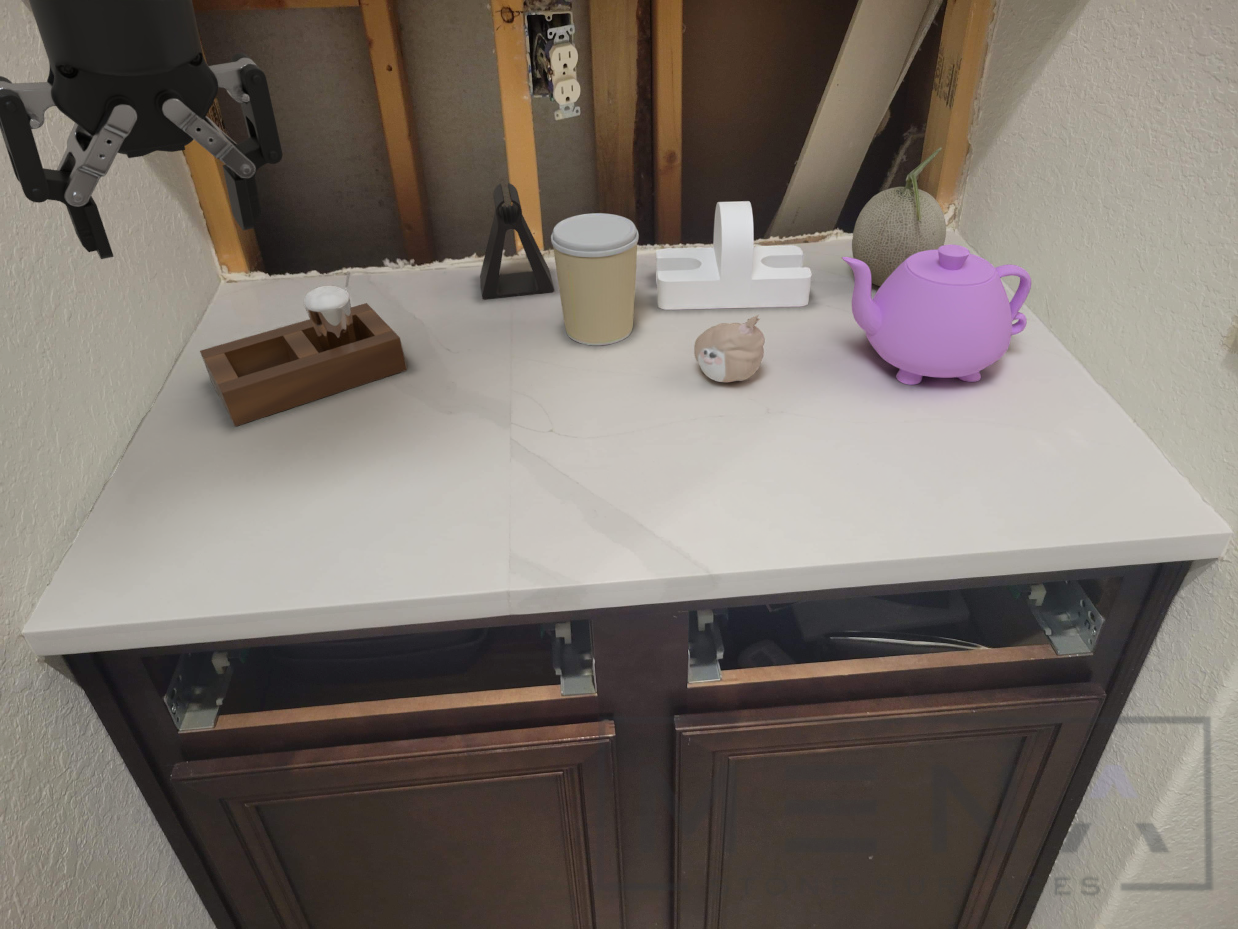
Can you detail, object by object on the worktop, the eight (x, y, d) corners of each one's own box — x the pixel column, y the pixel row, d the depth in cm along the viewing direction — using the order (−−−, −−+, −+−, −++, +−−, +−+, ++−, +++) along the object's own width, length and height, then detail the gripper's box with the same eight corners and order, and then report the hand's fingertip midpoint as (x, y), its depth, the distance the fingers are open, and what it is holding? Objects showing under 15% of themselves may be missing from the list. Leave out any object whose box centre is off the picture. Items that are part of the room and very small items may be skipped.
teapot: (842, 403, 81) (861, 286, 73) (810, 333, 92) (824, 225, 84) (1044, 393, 81) (1084, 275, 73) (987, 325, 92) (1017, 217, 85)
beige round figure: (712, 399, 82) (716, 327, 77) (685, 369, 87) (686, 300, 82) (770, 384, 84) (777, 314, 79) (740, 356, 88) (745, 287, 84)
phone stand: (549, 272, 107) (541, 179, 100) (554, 292, 102) (546, 196, 95) (480, 279, 106) (467, 186, 98) (482, 299, 101) (468, 203, 94)
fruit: (856, 305, 97) (877, 178, 88) (839, 264, 106) (856, 145, 97) (946, 304, 96) (976, 176, 87) (921, 263, 106) (946, 144, 96)
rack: (407, 370, 88) (400, 337, 86) (235, 427, 81) (221, 392, 78) (374, 334, 95) (366, 302, 92) (212, 383, 87) (199, 350, 85)
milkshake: (380, 363, 90) (360, 278, 83) (336, 382, 87) (312, 295, 80) (359, 349, 92) (337, 265, 86) (315, 367, 89) (290, 282, 83)
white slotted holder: (655, 275, 105) (655, 191, 99) (796, 271, 105) (805, 187, 98) (658, 309, 98) (658, 221, 91) (810, 306, 97) (821, 217, 91)
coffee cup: (620, 304, 99) (617, 206, 92) (653, 338, 92) (653, 235, 85) (547, 320, 96) (538, 220, 89) (575, 356, 89) (568, 252, 82)
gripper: (220, -73, 47) (265, 190, 58) (-84, -67, 40) (36, 231, 51) (270, -28, 43) (308, 243, 55) (-56, -13, 36) (66, 295, 48)
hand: (176, 237), depth 53 cm, fingers open, 8 cm apart
